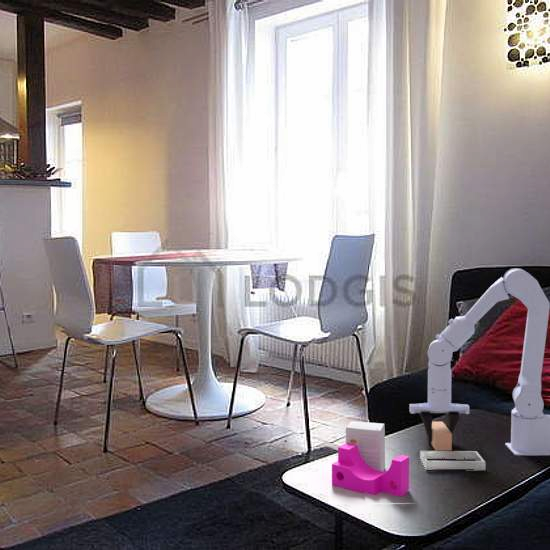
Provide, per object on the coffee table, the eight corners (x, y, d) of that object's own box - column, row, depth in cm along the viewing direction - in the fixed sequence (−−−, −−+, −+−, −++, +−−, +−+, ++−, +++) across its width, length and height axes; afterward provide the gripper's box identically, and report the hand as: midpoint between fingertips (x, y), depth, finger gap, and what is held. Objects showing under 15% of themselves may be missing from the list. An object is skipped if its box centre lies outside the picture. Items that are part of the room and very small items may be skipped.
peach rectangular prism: (442, 440, 166) (442, 421, 166) (451, 453, 156) (451, 433, 156) (426, 440, 167) (427, 421, 166) (434, 453, 157) (435, 433, 156)
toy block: (331, 484, 138) (331, 450, 138) (347, 475, 143) (347, 442, 143) (395, 501, 129) (395, 465, 129) (408, 491, 134) (409, 456, 134)
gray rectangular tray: (476, 461, 151) (476, 451, 151) (485, 473, 144) (485, 462, 144) (419, 461, 151) (419, 450, 151) (425, 472, 144) (425, 461, 144)
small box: (385, 468, 147) (385, 423, 146) (381, 477, 141) (381, 430, 141) (350, 464, 149) (350, 420, 149) (345, 473, 144) (345, 427, 143)
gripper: (464, 384, 164) (464, 436, 165) (407, 384, 165) (407, 436, 166) (472, 391, 157) (471, 445, 158) (412, 390, 158) (411, 444, 159)
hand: (438, 441), depth 161 cm, fingers closed on peach rectangular prism, 4 cm apart
